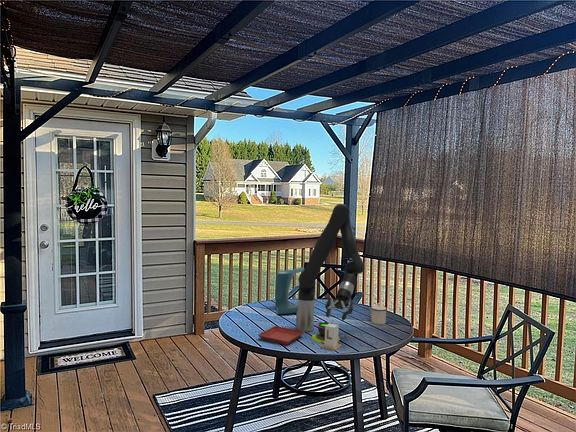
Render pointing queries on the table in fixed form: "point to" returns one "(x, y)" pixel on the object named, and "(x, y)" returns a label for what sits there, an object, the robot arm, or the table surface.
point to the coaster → (331, 347)
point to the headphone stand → (285, 291)
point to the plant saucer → (280, 335)
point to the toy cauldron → (321, 332)
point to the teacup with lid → (378, 314)
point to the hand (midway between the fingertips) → (334, 318)
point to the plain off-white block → (331, 335)
